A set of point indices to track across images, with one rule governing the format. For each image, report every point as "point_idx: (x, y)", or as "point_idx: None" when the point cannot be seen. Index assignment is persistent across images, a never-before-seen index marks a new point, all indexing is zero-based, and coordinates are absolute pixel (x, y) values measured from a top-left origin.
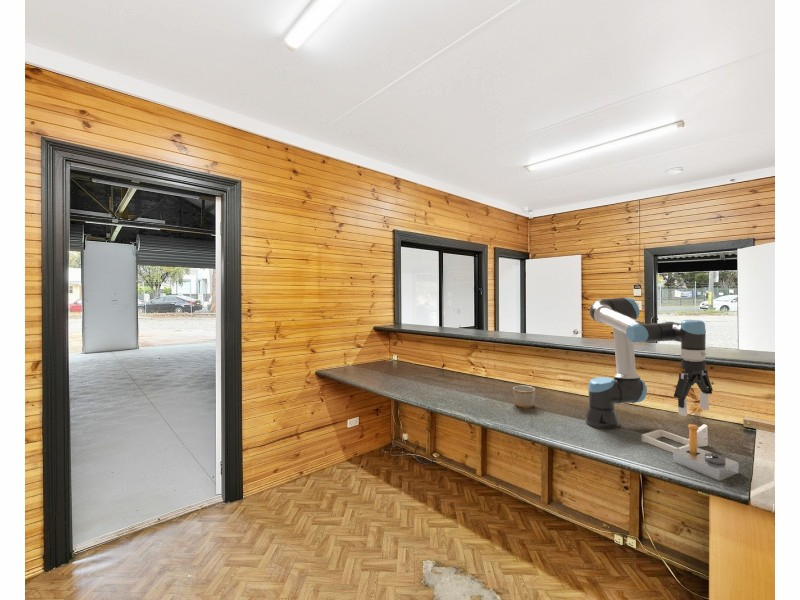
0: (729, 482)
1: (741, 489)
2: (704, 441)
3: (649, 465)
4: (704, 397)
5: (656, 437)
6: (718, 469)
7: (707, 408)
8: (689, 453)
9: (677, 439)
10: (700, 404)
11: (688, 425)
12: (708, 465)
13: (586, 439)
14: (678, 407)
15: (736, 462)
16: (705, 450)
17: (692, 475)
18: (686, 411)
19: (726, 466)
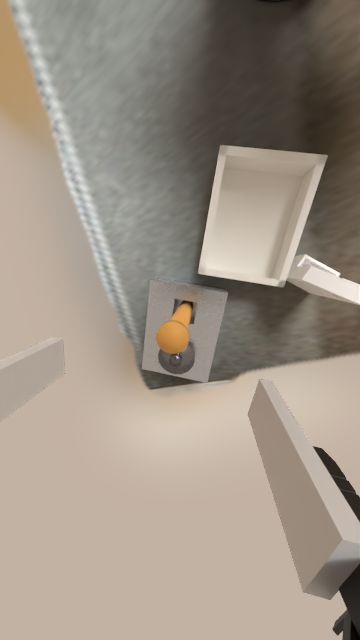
0: None
1: (158, 379)
2: (313, 291)
3: (110, 251)
4: (289, 500)
5: (280, 173)
6: (143, 367)
7: (251, 422)
8: (172, 308)
9: (289, 231)
10: (267, 401)
11: (162, 326)
12: (145, 351)
13: (98, 22)
14: (8, 357)
15: (204, 380)
16: (220, 325)
17: (141, 320)
18: (34, 390)
19: (169, 373)
